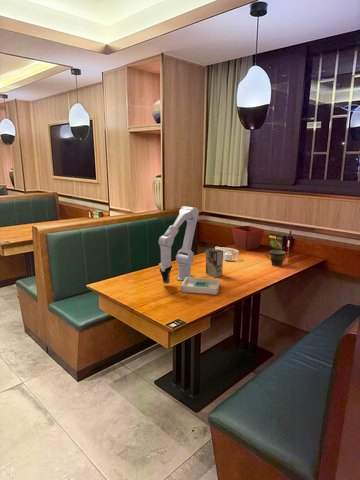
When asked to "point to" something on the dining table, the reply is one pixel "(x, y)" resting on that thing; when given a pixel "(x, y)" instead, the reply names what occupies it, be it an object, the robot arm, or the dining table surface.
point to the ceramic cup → (276, 257)
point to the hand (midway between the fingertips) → (166, 279)
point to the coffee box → (214, 262)
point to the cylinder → (167, 279)
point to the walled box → (200, 285)
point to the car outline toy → (228, 253)
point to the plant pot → (247, 237)
